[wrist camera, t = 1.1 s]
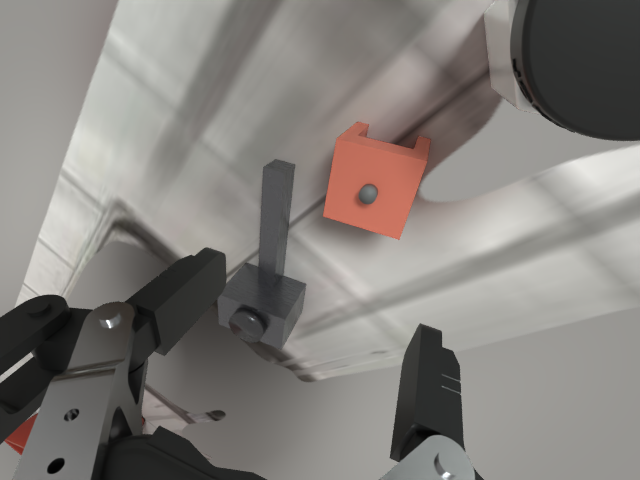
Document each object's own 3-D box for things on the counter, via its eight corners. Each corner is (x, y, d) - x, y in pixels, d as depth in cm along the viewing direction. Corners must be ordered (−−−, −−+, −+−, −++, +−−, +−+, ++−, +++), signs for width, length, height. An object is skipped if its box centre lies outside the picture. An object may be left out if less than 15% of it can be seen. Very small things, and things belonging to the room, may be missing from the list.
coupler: (247, 151, 30) (201, 174, 24) (324, 172, 28) (294, 203, 23) (245, 291, 40) (213, 330, 35) (301, 312, 39) (277, 357, 33)
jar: (457, 85, 22) (467, 112, 12) (517, -76, 17) (612, -244, 7) (597, 114, 20) (740, 174, 10) (706, -56, 15) (1155, -240, 6)
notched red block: (357, 121, 25) (332, 141, 20) (430, 139, 24) (426, 165, 18) (343, 188, 28) (319, 221, 23) (407, 206, 27) (397, 245, 22)
